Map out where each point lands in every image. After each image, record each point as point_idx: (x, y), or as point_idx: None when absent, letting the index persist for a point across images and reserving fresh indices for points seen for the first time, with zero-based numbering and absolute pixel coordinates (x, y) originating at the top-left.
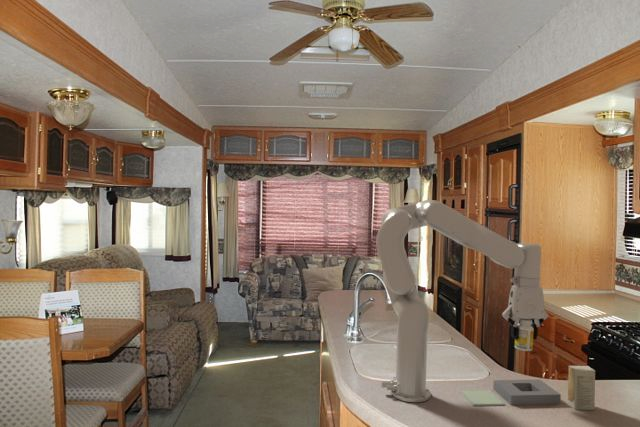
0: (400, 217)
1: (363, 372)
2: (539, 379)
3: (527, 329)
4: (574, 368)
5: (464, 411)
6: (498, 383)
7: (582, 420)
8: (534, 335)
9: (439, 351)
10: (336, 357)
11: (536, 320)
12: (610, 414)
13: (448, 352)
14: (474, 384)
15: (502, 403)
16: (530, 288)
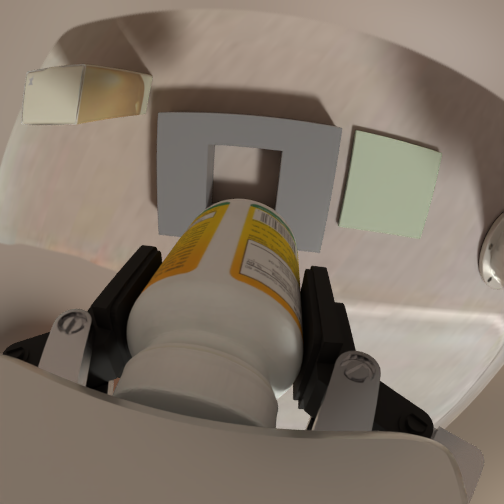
0: None
1: (496, 346)
2: (159, 234)
3: (229, 289)
4: (74, 86)
5: (471, 133)
6: (321, 225)
7: (177, 14)
8: (147, 267)
9: (297, 422)
10: (478, 393)
11: (62, 369)
12: (84, 55)
13: (281, 418)
14: (348, 276)
15: (362, 132)
16: None
